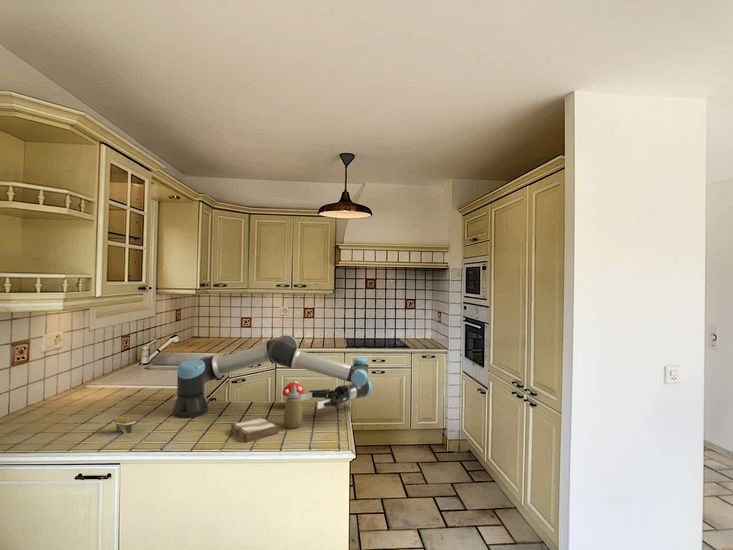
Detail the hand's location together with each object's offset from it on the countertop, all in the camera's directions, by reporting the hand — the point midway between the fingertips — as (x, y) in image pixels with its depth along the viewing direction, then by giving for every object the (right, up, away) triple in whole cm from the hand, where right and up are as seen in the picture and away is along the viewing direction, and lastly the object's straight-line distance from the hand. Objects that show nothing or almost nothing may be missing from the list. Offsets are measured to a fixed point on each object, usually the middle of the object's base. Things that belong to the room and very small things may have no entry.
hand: (308, 401), depth 182 cm
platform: (-74, -8, -15) cm, 76 cm away
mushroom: (-11, -9, +22) cm, 26 cm away
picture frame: (-21, -9, -12) cm, 26 cm away
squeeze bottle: (-6, -10, -4) cm, 12 cm away
